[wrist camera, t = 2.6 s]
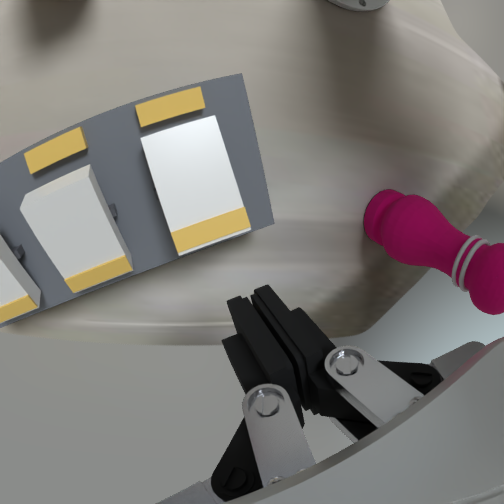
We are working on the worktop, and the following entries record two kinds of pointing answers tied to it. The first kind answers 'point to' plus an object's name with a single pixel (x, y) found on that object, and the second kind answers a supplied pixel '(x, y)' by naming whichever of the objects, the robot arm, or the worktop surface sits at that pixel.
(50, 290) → the switch unit
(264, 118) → the worktop surface
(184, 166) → the switch
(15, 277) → the switch
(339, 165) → the worktop surface
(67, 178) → the switch
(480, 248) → the pepper mill
